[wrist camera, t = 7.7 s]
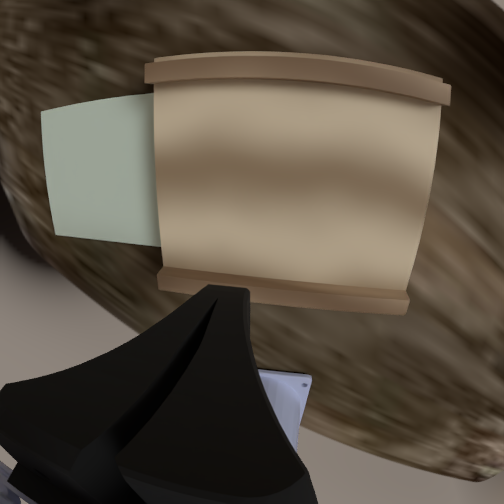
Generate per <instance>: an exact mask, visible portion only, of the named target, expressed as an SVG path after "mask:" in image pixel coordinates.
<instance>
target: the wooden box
mask: <svg viewBox="0 0 504 504" xmlns="http://www.w3.org/2000/svg"><path fill="white" fill-rule="evenodd" d="M442 82H443V79H442V78H439V77H435V76H432V75H428V74H425V73H421V72H417V71H413V70H409V69H404V68H400V67H395V66H391V65H386V64H381V63H375V62H370V61H364V60H357V59H351V58H343V57H336V56H327V55H317V54H305V53H290V52H260V51H244V52H214V53H198V54H187V55H177V56H168V57H160V58H155V59H154V62H153V63H146V64H145V83H148V84H154V147H155V171H156V188H157V203H158V216H159V227H160V238H161V248H162V257H163V267H162V269H161V270H160V271H159V272H158V274H157V281H158V288H159V290H165V291H171V292H178V293H185V294H192V295H195V294H196V293H197V292H199V291H200V290H201V289H202V288H204V287H205V286H206V285H208V284H212V285H222V286H232V287H242V288H247V289H248V290H249V291H250V302H255V303H264V304H273V305H283V306H293V307H303V308H313V309H324V310H336V311H349V312H362V313H376V314H392V315H405V314H406V311H407V308H408V305H409V302H410V299H409V297H408V295H407V292H406V288H407V284H408V281H409V278H410V274H411V271H412V267H413V264H414V260H415V257H416V253H417V249H418V245H419V241H420V237H421V233H422V229H423V224H424V220H425V215H426V210H427V206H428V201H429V195H430V190H431V185H432V179H433V173H434V166H435V159H436V152H437V144H438V136H439V126H440V115H441V105H443V106H450V97H451V85H448V84H445V83H442Z"/></svg>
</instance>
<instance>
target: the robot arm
mask: <svg viewBox="0 0 504 504" xmlns="http://www.w3.org/2000/svg"><path fill="white" fill-rule="evenodd" d="M311 382H312V377H311V376H310V375H308V374H298V373H288V372H278V371H269V370H261V369H257V365H256V362H255V358H254V354H253V350H252V346H251V341H250V291H249V290H248V289H247V288H242V287H232V286H222V285H212V284H208V285H206V286H205V287H204V288H202V289H201V290H200V291H199V292H197V293H196V294H195V295H194V296H192V297H191V298H190V299H189V300H187V301H186V302H185V303H184V304H182V305H181V306H180V307H178V308H177V309H176V310H175V311H173V312H172V313H171V314H169V315H168V316H167V317H165V318H164V319H162V320H161V321H159V322H158V323H156V324H155V325H153V326H152V327H150V328H149V329H148V330H146V331H145V332H143V333H142V334H140V335H138V336H137V337H135V338H133V339H132V340H130V341H129V342H127V343H124V344H123V345H121V346H119V347H117V348H115V349H113V350H111V351H109V352H107V353H105V354H103V355H100V356H98V357H96V358H94V359H91V360H89V361H87V362H84V363H82V364H79V365H77V366H74V367H71V368H69V369H66V370H63V371H59V372H56V373H53V374H49V375H46V376H42V377H38V378H34V379H29V380H24V381H19V382H15V383H8V384H5V386H4V387H3V388H2V389H1V391H0V445H1V446H2V447H3V448H4V449H5V450H6V451H7V452H8V453H9V454H10V455H11V456H12V457H13V458H14V459H15V460H16V461H17V462H18V463H17V464H16V466H15V468H14V469H13V470H12V469H10V468H9V467H8V466H6V465H5V464H4V463H2V462H1V461H0V504H21V501H20V498H22V499H23V500H24V501H26V502H27V503H29V504H318V501H317V498H316V494H315V491H314V488H313V485H312V482H311V479H310V475H309V472H308V470H307V468H306V467H305V465H304V464H303V462H302V461H301V459H300V458H299V456H298V454H297V444H298V432H299V425H300V422H301V418H302V415H303V411H304V408H305V404H306V400H307V397H308V393H309V389H310V385H311ZM303 383H306V384H303ZM19 497H20V498H19Z"/></svg>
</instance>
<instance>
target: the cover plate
mask: <svg viewBox="0 0 504 504" xmlns="http://www.w3.org/2000/svg"><path fill="white" fill-rule="evenodd" d="M41 124H42V141H43V154H44V164H45V173H46V181H47V188H48V195H49V202H50V208H51V214H52V219H53V224H54V229H55V234H56V235H62V236H70V237H79V238H88V239H96V240H105V241H113V242H122V243H131V244H140V245H148V246H157V247H161V238H160V227H159V216H158V203H157V188H156V171H155V147H154V93H150V94H140V95H131V96H123V97H116V98H109V99H102V100H96V101H90V102H85V103H79V104H74V105H69V106H64V107H60V108H55V109H51V110H46V111H42V112H41Z"/></svg>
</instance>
